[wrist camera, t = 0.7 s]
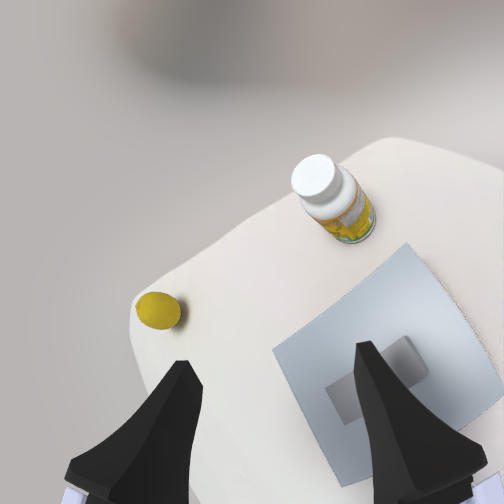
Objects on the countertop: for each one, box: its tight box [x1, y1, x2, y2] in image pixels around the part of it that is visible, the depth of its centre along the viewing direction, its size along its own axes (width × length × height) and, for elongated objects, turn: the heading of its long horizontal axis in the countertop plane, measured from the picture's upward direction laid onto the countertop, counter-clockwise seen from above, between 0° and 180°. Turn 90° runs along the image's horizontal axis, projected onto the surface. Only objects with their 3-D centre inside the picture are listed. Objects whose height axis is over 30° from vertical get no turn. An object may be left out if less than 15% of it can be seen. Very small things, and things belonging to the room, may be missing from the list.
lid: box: [272, 242, 504, 487], centre depth 16 cm, size 14×14×6 cm
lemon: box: [136, 292, 181, 330], centre depth 38 cm, size 6×6×8 cm
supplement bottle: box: [291, 154, 375, 243], centre depth 24 cm, size 5×5×10 cm
